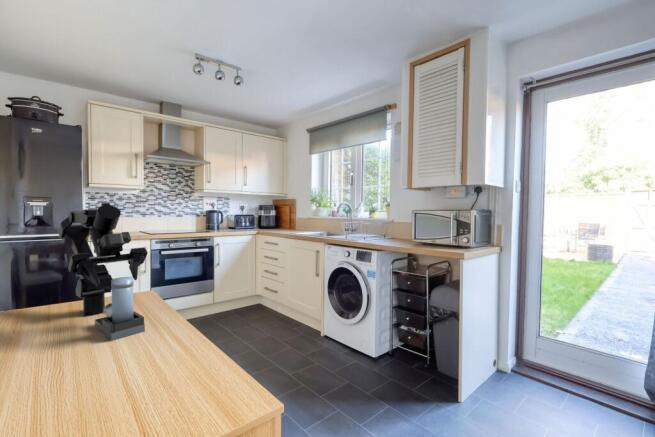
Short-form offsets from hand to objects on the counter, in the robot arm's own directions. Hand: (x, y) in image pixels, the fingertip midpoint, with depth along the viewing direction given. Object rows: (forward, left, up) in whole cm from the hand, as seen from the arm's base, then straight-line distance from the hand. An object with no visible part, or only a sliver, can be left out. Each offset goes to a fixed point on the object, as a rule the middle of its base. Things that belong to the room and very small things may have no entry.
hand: (118, 282), depth 88 cm
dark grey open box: (0, 0, -13) cm, 13 cm away
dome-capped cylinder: (+3, 0, -11) cm, 12 cm away
